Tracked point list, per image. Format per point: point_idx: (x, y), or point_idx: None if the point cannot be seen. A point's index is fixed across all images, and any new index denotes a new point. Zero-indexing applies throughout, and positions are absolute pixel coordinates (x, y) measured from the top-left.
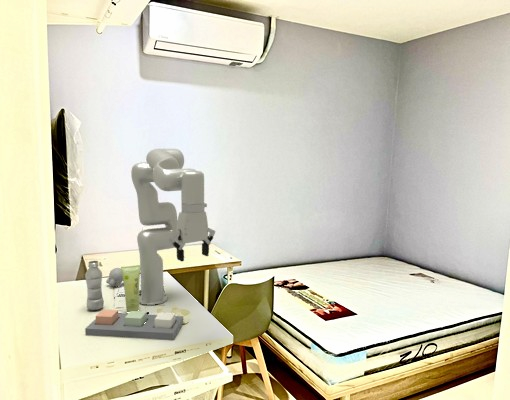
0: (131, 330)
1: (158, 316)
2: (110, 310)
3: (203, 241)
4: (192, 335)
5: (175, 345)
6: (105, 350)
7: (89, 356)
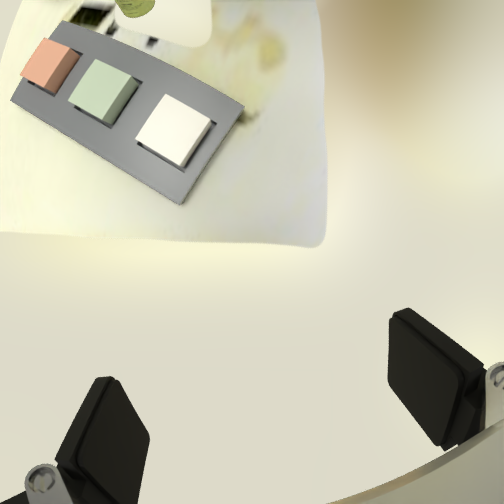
0: (83, 142)
1: (151, 123)
2: (54, 47)
3: (483, 414)
4: (239, 200)
5: (179, 234)
6: (36, 190)
7: (13, 205)
